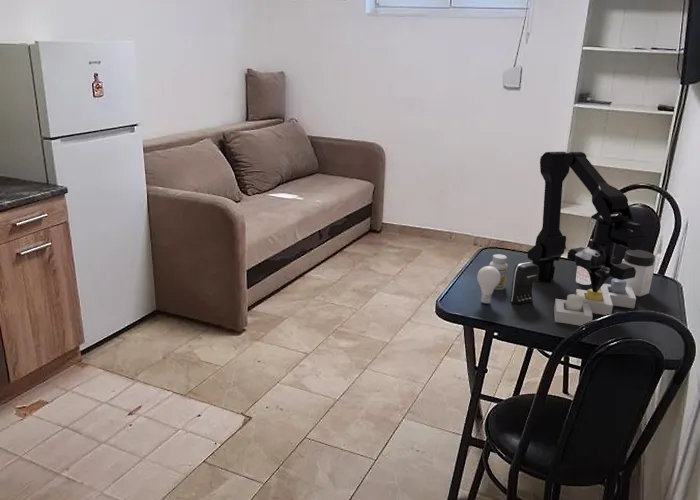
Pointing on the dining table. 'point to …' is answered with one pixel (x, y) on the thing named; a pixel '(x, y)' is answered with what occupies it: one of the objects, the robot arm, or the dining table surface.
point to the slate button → (618, 286)
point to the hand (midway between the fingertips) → (594, 291)
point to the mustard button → (594, 295)
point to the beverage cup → (583, 275)
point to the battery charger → (523, 282)
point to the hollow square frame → (597, 303)
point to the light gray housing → (620, 296)
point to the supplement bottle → (500, 269)
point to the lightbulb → (488, 282)
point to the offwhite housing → (572, 313)
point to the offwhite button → (574, 302)
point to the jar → (640, 270)
